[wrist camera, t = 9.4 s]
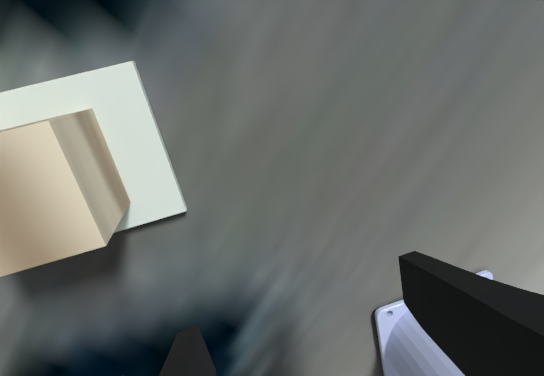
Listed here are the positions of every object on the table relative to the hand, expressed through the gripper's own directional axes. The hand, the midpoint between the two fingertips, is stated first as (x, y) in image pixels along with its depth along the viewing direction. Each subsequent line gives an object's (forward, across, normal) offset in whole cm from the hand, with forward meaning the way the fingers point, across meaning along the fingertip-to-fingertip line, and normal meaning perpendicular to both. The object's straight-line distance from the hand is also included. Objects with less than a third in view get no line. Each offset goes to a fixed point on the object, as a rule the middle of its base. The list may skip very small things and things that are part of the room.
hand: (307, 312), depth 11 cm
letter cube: (+9, +9, -5) cm, 14 cm away
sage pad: (+9, +9, -6) cm, 14 cm away
